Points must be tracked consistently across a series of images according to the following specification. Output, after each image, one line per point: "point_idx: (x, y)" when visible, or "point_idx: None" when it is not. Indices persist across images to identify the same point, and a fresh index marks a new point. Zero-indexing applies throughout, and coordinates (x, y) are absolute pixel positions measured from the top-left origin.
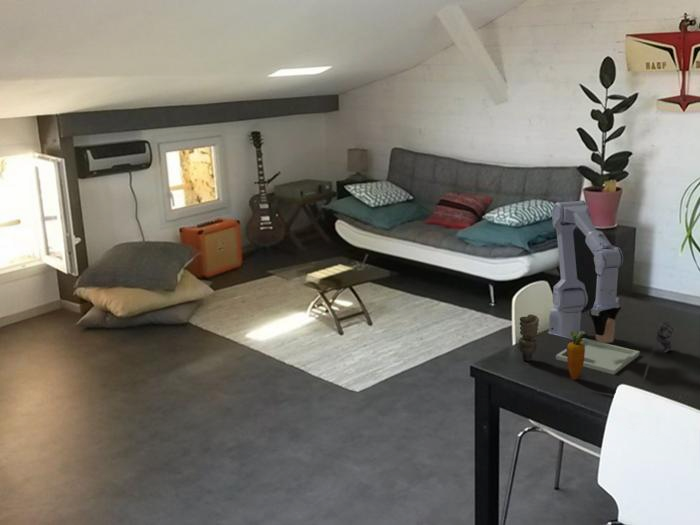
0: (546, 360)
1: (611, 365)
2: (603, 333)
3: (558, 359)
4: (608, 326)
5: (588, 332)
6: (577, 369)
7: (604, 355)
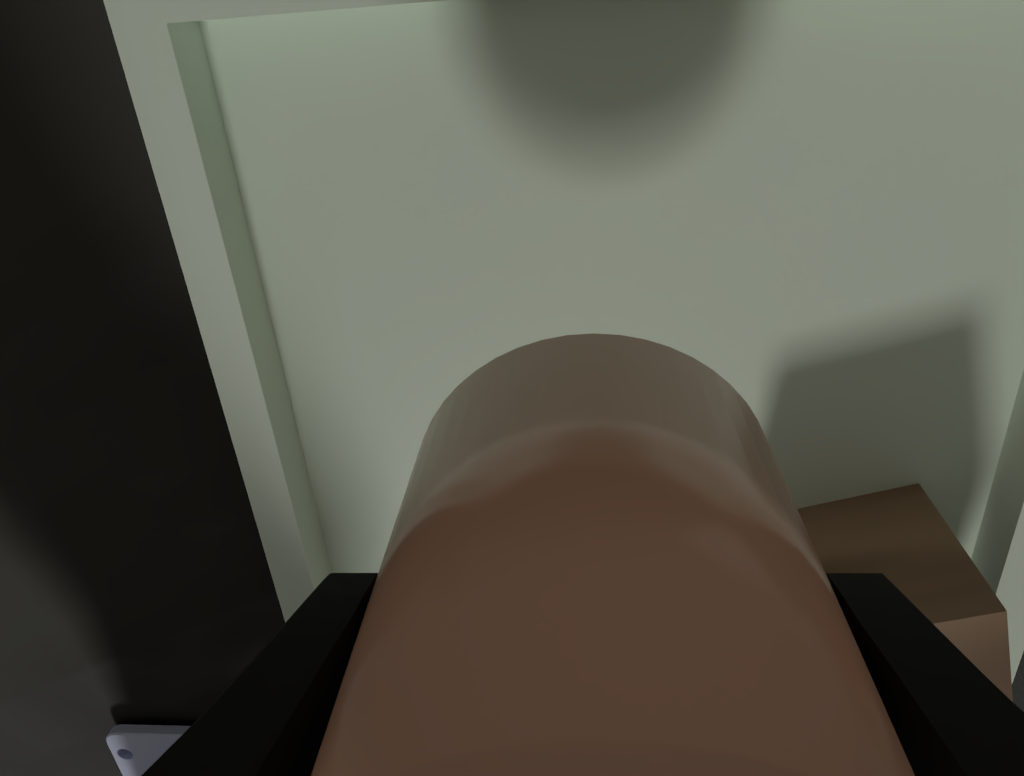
0: None
1: (824, 106)
2: (889, 601)
3: None
4: (875, 713)
5: (55, 710)
6: None
7: None
